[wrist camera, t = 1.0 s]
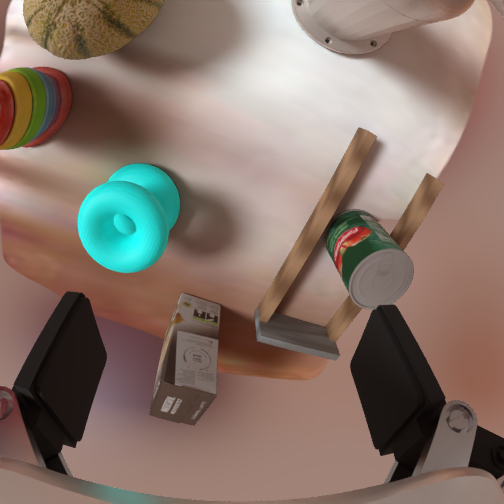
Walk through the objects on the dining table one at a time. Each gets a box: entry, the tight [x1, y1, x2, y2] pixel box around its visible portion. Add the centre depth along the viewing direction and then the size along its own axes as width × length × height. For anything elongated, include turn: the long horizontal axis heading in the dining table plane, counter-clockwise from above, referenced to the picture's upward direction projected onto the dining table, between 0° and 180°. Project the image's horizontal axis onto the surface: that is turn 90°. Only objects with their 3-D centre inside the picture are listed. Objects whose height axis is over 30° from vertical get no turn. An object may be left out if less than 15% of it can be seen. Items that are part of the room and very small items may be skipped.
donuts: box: [78, 163, 180, 273], centre depth 32 cm, size 10×10×10 cm
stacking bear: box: [0, 67, 72, 150], centre depth 21 cm, size 11×10×18 cm
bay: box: [255, 128, 444, 360], centre depth 39 cm, size 30×13×6 cm, turn 156°
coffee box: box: [149, 293, 221, 425], centre depth 39 cm, size 9×6×16 cm
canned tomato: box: [324, 209, 414, 310], centre depth 36 cm, size 8×8×11 cm
